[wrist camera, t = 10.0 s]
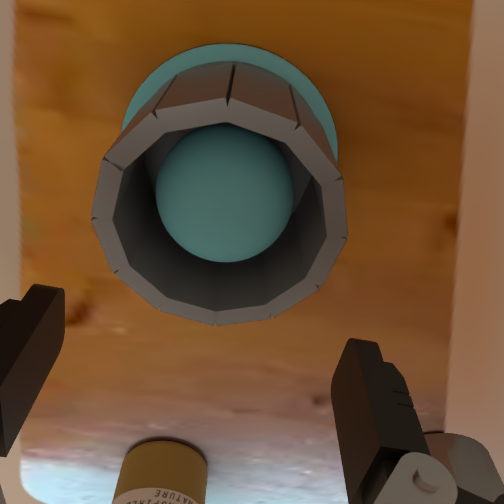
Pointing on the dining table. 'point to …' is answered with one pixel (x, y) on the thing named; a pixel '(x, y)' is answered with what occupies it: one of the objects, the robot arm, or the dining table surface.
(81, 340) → the dining table surface
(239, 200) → the ball
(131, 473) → the bark textured cylinder
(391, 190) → the dining table surface
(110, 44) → the dining table surface
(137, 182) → the grey ribbed round container
